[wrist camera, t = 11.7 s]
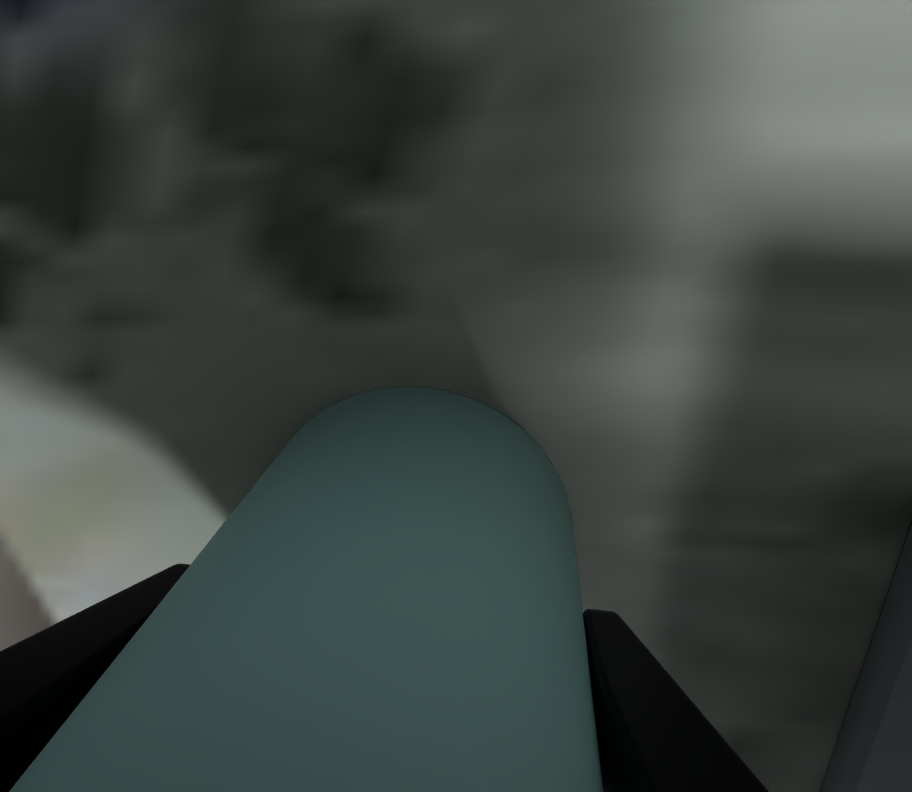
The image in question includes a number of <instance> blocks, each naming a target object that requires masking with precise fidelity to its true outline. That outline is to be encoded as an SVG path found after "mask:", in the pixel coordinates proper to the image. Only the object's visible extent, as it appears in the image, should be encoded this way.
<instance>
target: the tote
mask: <svg viewBox="0 0 912 792" xmlns="http://www.w3.org/2000/svg"><path fill="white" fill-rule="evenodd" d="M821 792H912V524H911V527H910V530H909V533H908V536H907V539H906V542H905V545H904V548H903V551H902V554H901V557H900V560H899V563H898V566H897V569H896V571H895V574H894V577H893V580H892V583H891V586H890V589H889V592H888V595H887V598H886V601H885V604H884V607H883V610H882V613H881V616H880V618H879V621H878V624H877V627H876V630H875V633H874V636H873V639H872V642H871V645H870V648H869V651H868V654H867V657H866V660H865V662H864V665H863V668H862V671H861V674H860V677H859V680H858V683H857V686H856V689H855V692H854V695H853V698H852V701H851V704H850V707H849V709H848V712H847V715H846V718H845V721H844V724H843V727H842V730H841V733H840V736H839V739H838V742H837V745H836V748H835V751H834V754H833V756H832V759H831V762H830V765H829V768H828V771H827V774H826V777H825V780H824V783H823V786H822V789H821Z"/></svg>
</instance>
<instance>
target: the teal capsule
mask: <svg viewBox="0 0 912 792" xmlns="http://www.w3.org/2000/svg"><path fill="white" fill-rule="evenodd" d="M9 792H603V785H602V776H601V767H600V759H599V750H598V741H597V732H596V724H595V715H594V706H593V698H592V689H591V680H590V672H589V663H588V654H587V646H586V637H585V628H584V620H583V611H582V602H581V593H580V585H579V576H578V567H577V559H576V550H575V541H574V533H573V524H572V515H571V510H570V506H569V502H568V498H567V494H566V491H565V489H564V487H563V484H562V482H561V479H560V477H559V475H558V473H557V472H556V470H555V468H554V466H553V465H552V463H551V461H550V460H549V458H548V457H547V456H546V454H545V453H544V452H543V451H542V449H541V448H540V447H539V445H538V444H537V443H536V442H535V441H534V440H533V439H532V438H531V437H530V436H529V435H528V434H527V433H526V432H525V431H524V430H523V429H522V428H520V427H519V426H518V425H516V424H515V423H514V422H512V421H511V420H510V419H508V418H507V417H506V416H504V415H502V414H501V413H499V412H497V411H495V410H494V409H492V408H490V407H488V406H487V405H484V404H482V403H480V402H477V401H475V400H473V399H470V398H468V397H465V396H462V395H458V394H455V393H451V392H448V391H443V390H437V389H430V388H424V387H394V388H384V389H377V390H373V391H369V392H364V393H360V394H357V395H354V396H352V397H349V398H346V399H344V400H341V401H339V402H337V403H335V404H334V405H332V406H330V407H328V408H326V409H324V410H323V411H321V412H320V413H319V414H317V415H316V416H315V417H313V418H312V419H311V420H309V421H308V422H307V423H306V424H305V425H304V426H303V427H302V428H301V429H300V430H299V431H298V432H297V433H296V434H295V435H294V436H293V437H292V439H291V440H290V441H289V442H288V444H287V445H286V446H285V447H284V449H283V450H282V451H281V452H280V454H279V455H278V456H277V457H276V459H275V460H274V461H273V462H272V464H271V465H270V466H269V467H268V469H267V470H266V471H265V472H264V474H263V475H262V476H261V477H260V479H259V480H258V481H257V482H256V484H255V485H254V486H253V487H252V489H251V490H250V491H249V492H248V494H247V495H246V496H245V497H244V499H243V500H242V501H241V502H240V504H239V505H238V506H237V507H236V509H235V510H234V511H233V512H232V514H231V515H230V516H229V517H228V519H227V520H226V521H225V522H224V524H223V525H222V526H221V527H220V529H219V530H218V531H217V532H216V534H215V535H214V536H213V537H212V539H211V540H210V541H209V542H208V544H207V545H206V546H205V547H204V549H203V550H202V551H201V552H200V554H199V555H198V556H197V557H196V559H195V560H194V561H193V562H192V564H191V565H190V566H189V567H188V569H187V570H186V571H185V572H184V574H183V575H182V576H181V577H180V579H179V580H178V581H177V582H176V584H175V585H174V586H173V587H172V589H171V590H170V591H169V592H168V594H167V595H166V596H165V597H164V599H163V600H162V601H161V602H160V604H159V605H158V606H157V607H156V609H155V610H154V611H153V612H152V614H151V615H150V616H149V617H148V619H147V620H146V621H145V622H144V624H143V625H142V626H141V627H140V629H139V630H138V631H137V632H136V634H135V635H134V636H133V637H132V639H131V640H130V641H129V642H128V644H127V645H126V646H125V647H124V649H123V650H122V651H121V652H120V654H119V655H118V656H117V657H116V659H115V660H114V661H113V662H112V664H111V665H110V666H109V667H108V669H107V670H106V671H105V672H104V674H103V675H102V676H101V677H100V679H99V680H98V681H97V682H96V684H95V685H94V686H93V687H92V689H91V690H90V691H89V692H88V694H87V695H86V696H85V697H84V699H83V700H82V701H81V702H80V704H79V705H78V706H77V707H76V709H75V710H74V711H73V712H72V714H71V715H70V716H69V717H68V719H67V720H66V721H65V722H64V724H63V725H62V726H61V727H60V729H59V730H58V731H57V732H56V734H55V735H54V736H53V737H52V739H51V740H50V741H49V742H48V744H47V745H46V746H45V747H44V749H43V750H42V751H41V752H40V754H39V755H38V756H37V757H36V759H35V760H34V761H33V762H32V764H31V765H30V766H29V767H28V769H27V770H26V771H25V772H24V774H23V775H22V776H21V777H20V779H19V780H18V781H17V782H16V784H15V785H14V786H13V787H12V789H11V790H10V791H9Z"/></svg>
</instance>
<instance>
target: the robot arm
mask: <svg viewBox="0 0 912 792" xmlns="http://www.w3.org/2000/svg"><path fill="white" fill-rule="evenodd" d="M189 566H190V564H176V565H173V566H171V567H169V568H167V569H165V570H163V571H161V572H159V573H157V574H155V575H153V576H151V577H149V578H147V579H145V580H143V581H141V582H139V583H137V584H135V585H133V586H131V587H129V588H127V589H125V590H123V591H121V592H119V593H117V594H115V595H113V596H111V597H109V598H107V599H105V600H103V601H101V602H99V603H97V604H95V605H93V606H91V607H89V608H87V609H84V610H82V611H80V612H78V613H76V614H74V615H72V616H70V617H68V618H66V619H64V620H62V621H60V622H58V623H56V624H54V625H52V626H50V627H48V628H46V629H44V630H42V631H40V632H38V633H36V634H34V635H32V636H30V637H28V638H26V639H24V640H22V641H20V642H18V643H16V644H14V645H12V646H10V647H8V648H6V649H4V650H2V651H0V792H9V791H10V790H11V789H12V787H13V786H14V785H15V784H16V782H17V781H18V780H19V779H20V777H21V776H22V775H23V774H24V772H25V771H26V770H27V769H28V767H29V766H30V765H31V764H32V762H33V761H34V760H35V759H36V757H37V756H38V755H39V754H40V752H41V751H42V750H43V749H44V747H45V746H46V745H47V744H48V742H49V741H50V740H51V739H52V737H53V736H54V735H55V734H56V732H57V731H58V730H59V729H60V727H61V726H62V725H63V724H64V722H65V721H66V720H67V719H68V717H69V716H70V715H71V714H72V712H73V711H74V710H75V709H76V707H77V706H78V705H79V704H80V702H81V701H82V700H83V699H84V697H85V696H86V695H87V694H88V692H89V691H90V690H91V689H92V687H93V686H94V685H95V684H96V682H97V681H98V680H99V679H100V677H101V676H102V675H103V674H104V672H105V671H106V670H107V669H108V667H109V666H110V665H111V664H112V662H113V661H114V660H115V659H116V657H117V656H118V655H119V654H120V652H121V651H122V650H123V649H124V647H125V646H126V645H127V644H128V642H129V641H130V640H131V639H132V637H133V636H134V635H135V634H136V632H137V631H138V630H139V629H140V627H141V626H142V625H143V624H144V622H145V621H146V620H147V619H148V617H149V616H150V615H151V614H152V612H153V611H154V610H155V609H156V607H157V606H158V605H159V604H160V602H161V601H162V600H163V599H164V597H165V596H166V595H167V594H168V592H169V591H170V590H171V589H172V587H173V586H174V585H175V584H176V582H177V581H178V580H179V579H180V577H181V576H182V575H183V574H184V572H185V571H186V570H187V569H188V567H189ZM583 620H584V628H585V637H586V646H587V654H588V663H589V672H590V680H591V689H592V698H593V706H594V715H595V724H596V732H597V741H598V750H599V759H600V767H601V776H602V785H603V792H769V791H768V790H767V789H766V788H765V787H764V786H763V784H762V783H761V782H760V781H759V780H758V778H757V777H756V776H755V775H754V774H753V773H752V771H751V770H750V769H749V768H748V767H747V766H746V764H745V763H744V762H743V761H742V760H741V758H740V757H739V756H738V755H737V754H736V753H735V751H734V750H733V749H732V748H731V747H730V746H729V744H728V743H727V742H726V741H725V740H724V738H723V737H722V736H721V735H720V734H719V733H718V731H717V730H716V729H715V728H714V727H713V726H712V724H711V723H710V722H709V721H708V720H707V718H706V717H705V716H704V715H703V714H702V713H701V711H700V710H699V709H698V708H697V707H696V706H695V704H694V703H693V702H692V701H691V700H690V698H689V697H688V696H687V695H686V694H685V693H684V691H683V690H682V689H681V688H680V687H679V686H678V684H677V683H676V682H675V681H674V680H673V678H672V677H671V676H670V675H669V674H668V673H667V671H666V670H665V669H664V668H663V667H662V666H661V664H660V663H659V662H658V661H657V660H656V658H655V657H654V656H653V655H652V654H651V653H650V651H649V650H648V649H647V648H646V647H645V646H644V644H643V643H642V642H641V641H640V640H639V638H638V637H637V636H636V635H635V634H634V633H633V631H632V630H631V629H630V628H629V627H628V626H627V624H626V623H625V622H624V621H623V620H622V618H621V617H620V616H619V615H618V614H617V613H615V612H612V611H604V610H595V609H587V610H585V612H584V613H583Z"/></svg>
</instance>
